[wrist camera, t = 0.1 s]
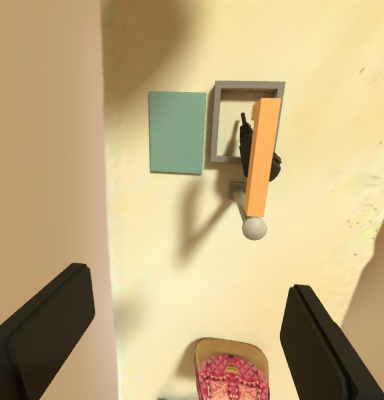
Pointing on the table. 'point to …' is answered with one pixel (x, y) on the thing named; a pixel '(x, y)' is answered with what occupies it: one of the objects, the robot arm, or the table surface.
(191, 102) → the mat
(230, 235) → the table surface
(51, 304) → the robot arm
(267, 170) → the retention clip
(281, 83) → the plug dock
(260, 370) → the shoulder bag
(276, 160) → the power plug
